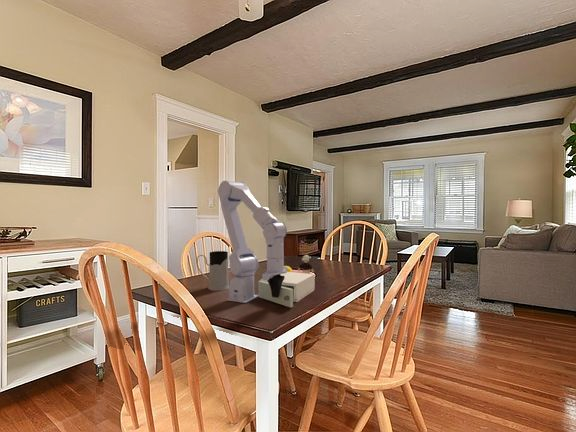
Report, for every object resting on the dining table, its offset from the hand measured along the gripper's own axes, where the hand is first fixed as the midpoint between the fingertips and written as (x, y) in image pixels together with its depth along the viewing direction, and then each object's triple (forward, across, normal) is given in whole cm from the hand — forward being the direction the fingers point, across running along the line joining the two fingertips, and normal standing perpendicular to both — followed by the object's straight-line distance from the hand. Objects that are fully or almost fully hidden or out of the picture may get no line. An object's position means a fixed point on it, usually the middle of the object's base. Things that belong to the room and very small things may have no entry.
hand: (275, 297), depth 109 cm
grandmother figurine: (+3, +34, +3) cm, 34 cm away
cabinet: (+3, +16, +3) cm, 17 cm away
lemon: (+3, +43, +17) cm, 46 cm away
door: (+3, +2, +2) cm, 4 cm away
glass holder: (+3, +11, +36) cm, 38 cm away
